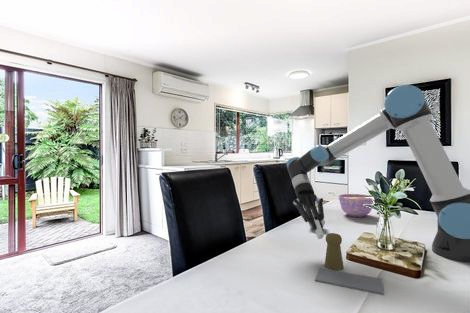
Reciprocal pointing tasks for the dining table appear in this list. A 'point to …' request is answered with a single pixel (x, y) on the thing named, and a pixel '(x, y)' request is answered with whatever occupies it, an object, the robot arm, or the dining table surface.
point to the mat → (350, 280)
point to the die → (321, 222)
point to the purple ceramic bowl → (355, 204)
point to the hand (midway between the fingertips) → (321, 237)
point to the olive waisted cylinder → (333, 252)
